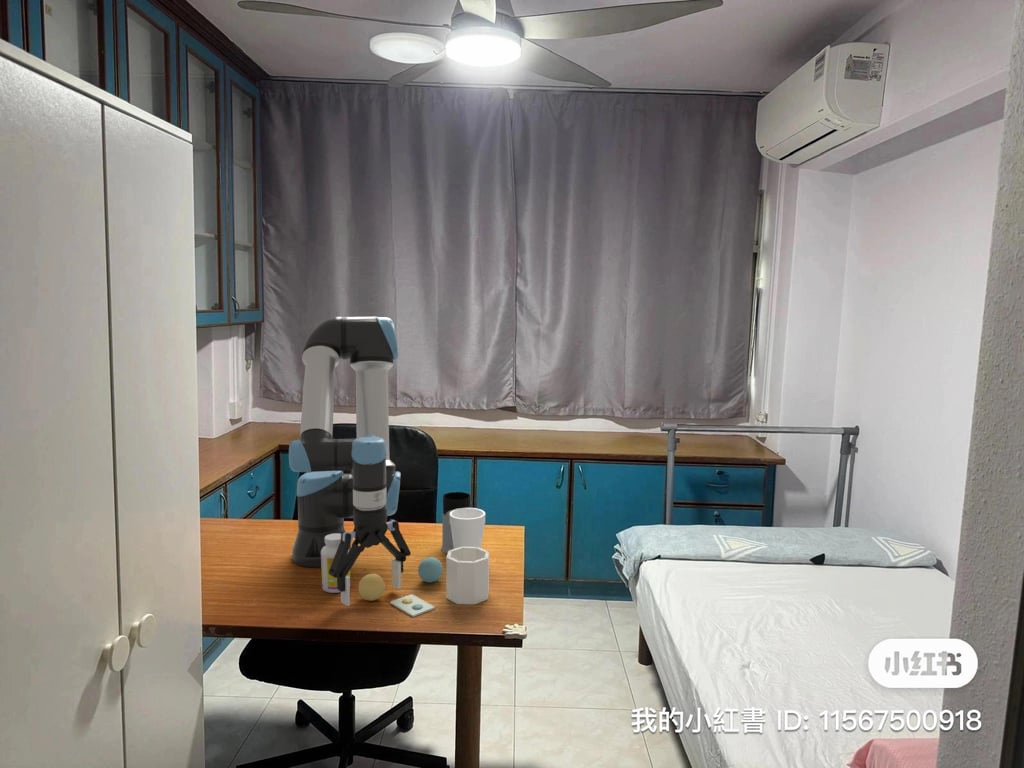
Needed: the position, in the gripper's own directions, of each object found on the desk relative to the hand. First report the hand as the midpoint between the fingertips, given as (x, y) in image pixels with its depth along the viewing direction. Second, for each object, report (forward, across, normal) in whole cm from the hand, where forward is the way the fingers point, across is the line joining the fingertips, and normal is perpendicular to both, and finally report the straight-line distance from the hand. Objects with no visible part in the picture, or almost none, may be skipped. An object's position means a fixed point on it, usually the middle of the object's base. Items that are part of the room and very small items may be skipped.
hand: (371, 595), depth 164 cm
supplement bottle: (+1, -3, +11) cm, 12 cm away
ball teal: (+1, +16, -1) cm, 16 cm away
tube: (+1, +18, -13) cm, 22 cm away
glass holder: (+1, +36, +14) cm, 39 cm away
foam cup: (+1, +31, +3) cm, 31 cm away
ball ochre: (+1, 0, 0) cm, 1 cm away
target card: (+1, +5, -9) cm, 10 cm away
